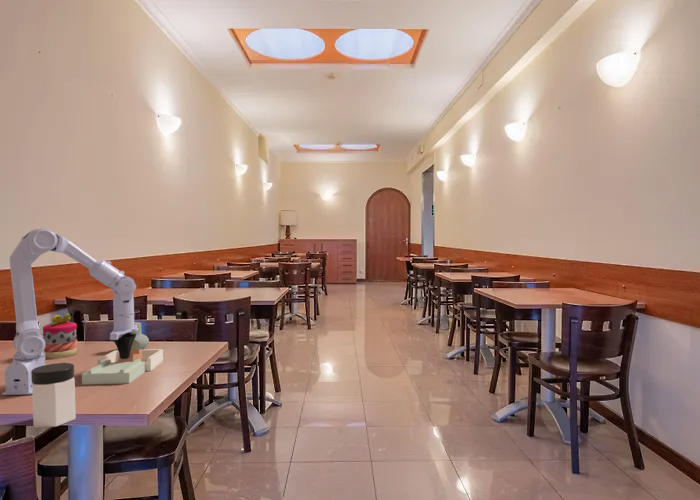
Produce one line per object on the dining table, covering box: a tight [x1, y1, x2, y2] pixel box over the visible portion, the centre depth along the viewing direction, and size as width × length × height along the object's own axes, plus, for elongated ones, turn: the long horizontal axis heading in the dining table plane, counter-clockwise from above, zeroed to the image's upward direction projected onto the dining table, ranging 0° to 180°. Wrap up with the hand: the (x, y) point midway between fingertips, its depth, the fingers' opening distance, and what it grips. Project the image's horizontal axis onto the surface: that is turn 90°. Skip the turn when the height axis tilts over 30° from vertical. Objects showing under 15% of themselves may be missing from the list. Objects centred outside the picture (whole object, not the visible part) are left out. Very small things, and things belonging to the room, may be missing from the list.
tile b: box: [130, 349, 143, 361], centre depth 149 cm, size 4×4×2 cm
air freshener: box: [131, 321, 150, 350], centre depth 170 cm, size 11×8×10 cm
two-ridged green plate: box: [81, 359, 147, 386], centre depth 136 cm, size 12×13×4 cm
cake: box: [42, 313, 79, 360], centre depth 164 cm, size 10×11×15 cm
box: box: [96, 348, 165, 372], centre depth 148 cm, size 12×16×4 cm
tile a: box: [118, 354, 139, 362], centre depth 145 cm, size 4×4×2 cm
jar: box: [31, 362, 76, 429], centre depth 104 cm, size 9×8×12 cm
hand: (124, 358), depth 143 cm, fingers closed
